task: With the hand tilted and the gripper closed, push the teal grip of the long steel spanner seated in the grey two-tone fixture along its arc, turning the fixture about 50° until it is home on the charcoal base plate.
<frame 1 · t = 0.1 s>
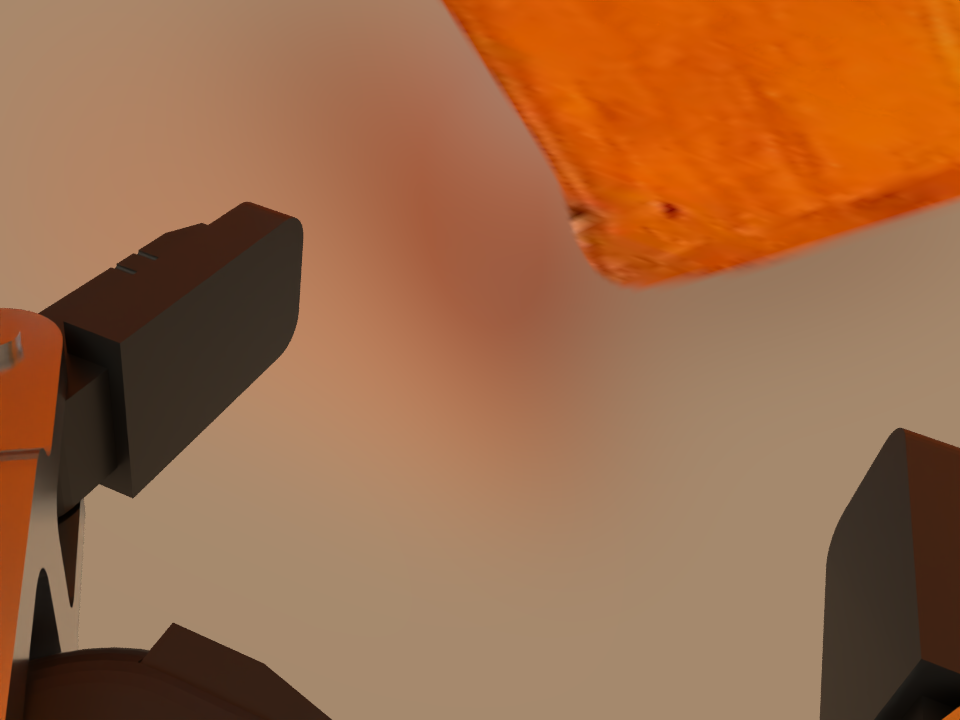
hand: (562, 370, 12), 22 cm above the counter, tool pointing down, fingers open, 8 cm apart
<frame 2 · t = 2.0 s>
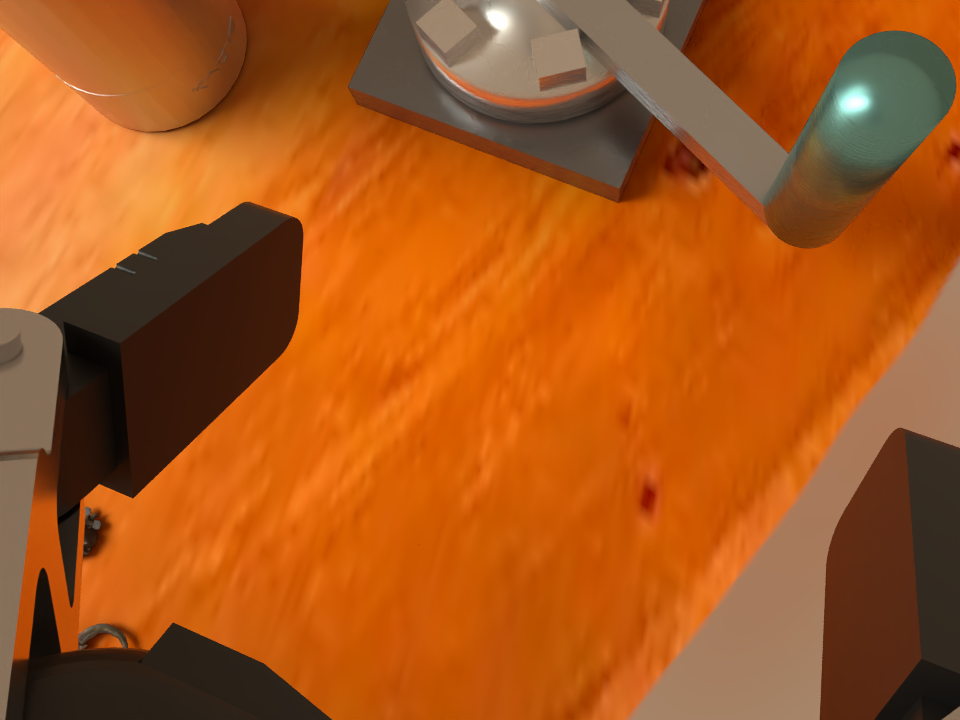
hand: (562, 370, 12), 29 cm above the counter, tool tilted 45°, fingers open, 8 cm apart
base plate: (541, 28, 44), on the counter
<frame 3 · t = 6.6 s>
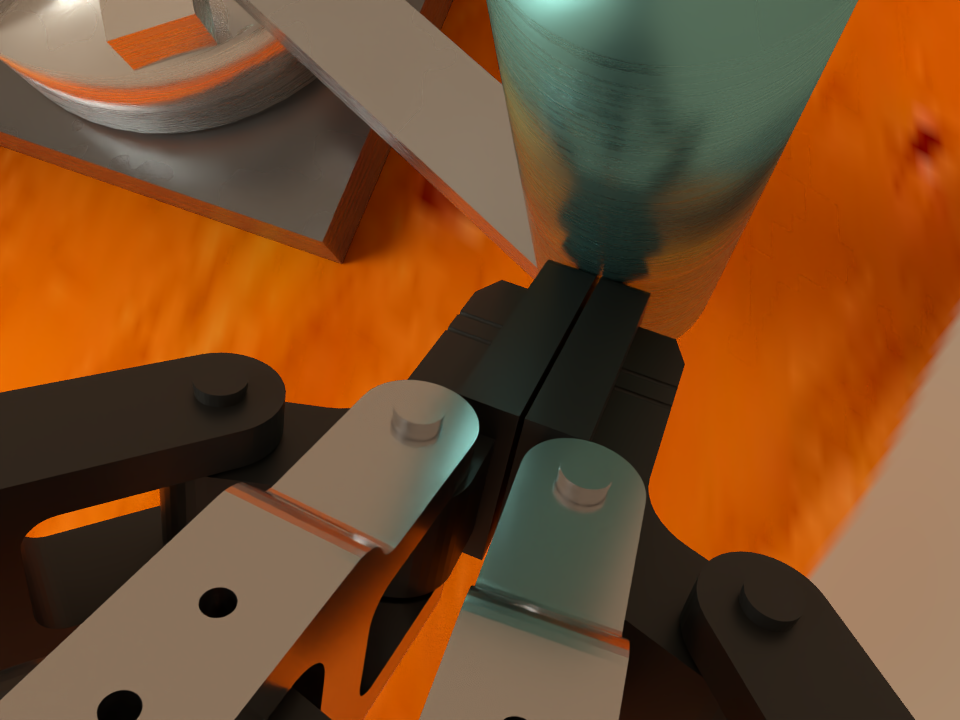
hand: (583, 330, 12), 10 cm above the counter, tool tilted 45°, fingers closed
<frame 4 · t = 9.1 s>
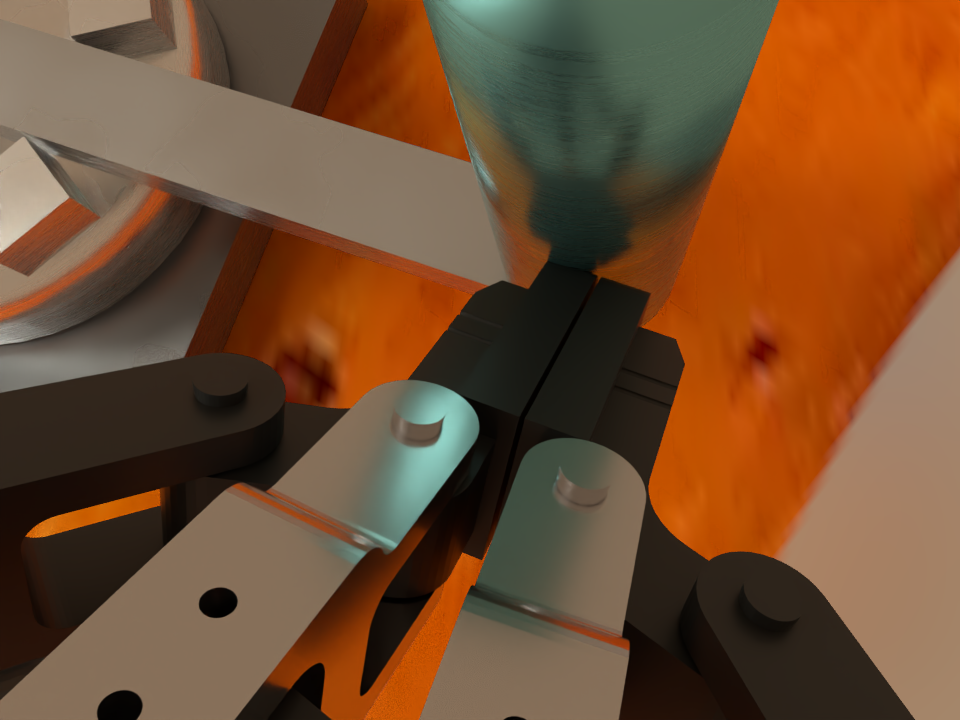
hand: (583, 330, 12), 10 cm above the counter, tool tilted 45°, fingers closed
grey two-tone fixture: (33, 30, 15), point 9 cm above the counter, hinge at 25.0°, touching gripper
base plate: (56, 154, 25), on the counter
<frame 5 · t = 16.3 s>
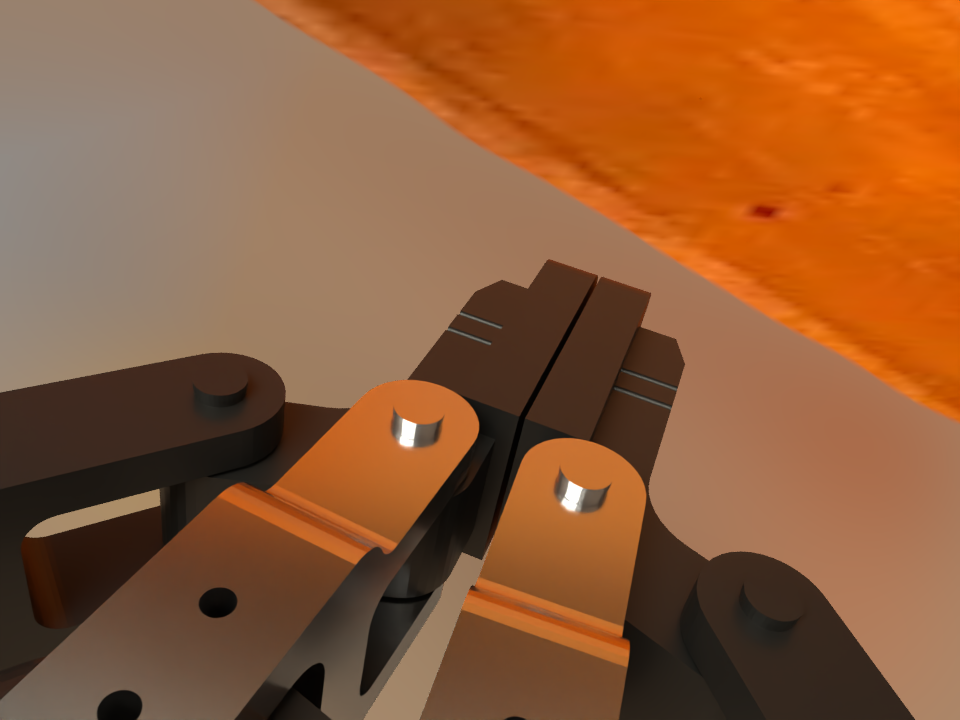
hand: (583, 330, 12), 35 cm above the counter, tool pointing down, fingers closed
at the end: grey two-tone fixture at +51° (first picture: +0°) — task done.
